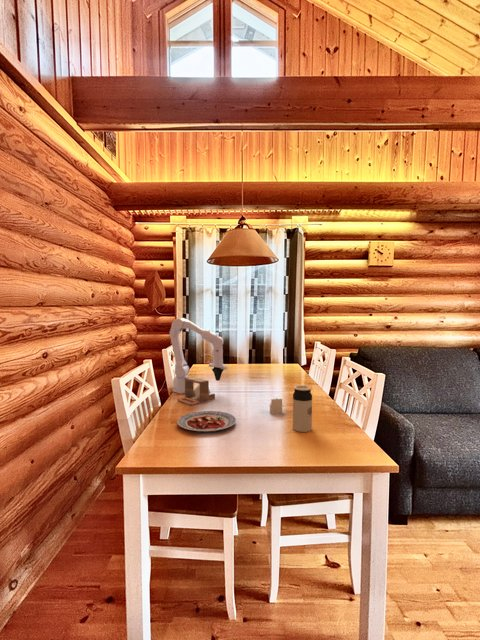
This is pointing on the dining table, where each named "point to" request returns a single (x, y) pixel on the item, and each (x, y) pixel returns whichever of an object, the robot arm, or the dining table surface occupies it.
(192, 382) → the tunnel lane
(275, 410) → the architectural model
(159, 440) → the dining table surface
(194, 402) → the trap pit
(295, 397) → the travel mug
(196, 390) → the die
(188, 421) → the ceramic plate
